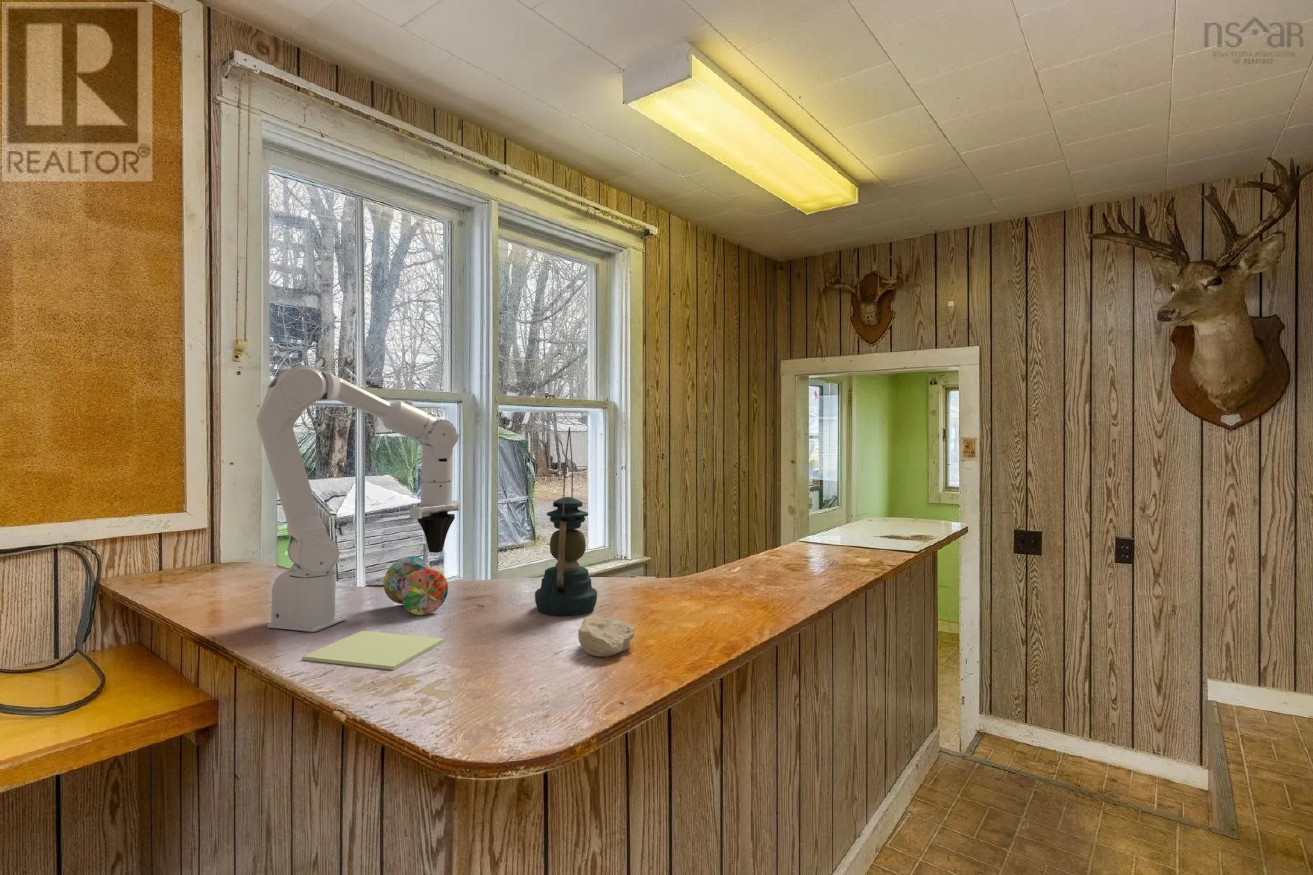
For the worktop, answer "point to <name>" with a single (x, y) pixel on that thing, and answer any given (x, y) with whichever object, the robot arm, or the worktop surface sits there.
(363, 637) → the mat
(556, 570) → the lantern
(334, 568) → the robot arm
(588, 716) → the worktop surface
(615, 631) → the beige stone
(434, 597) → the mug
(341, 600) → the worktop surface
